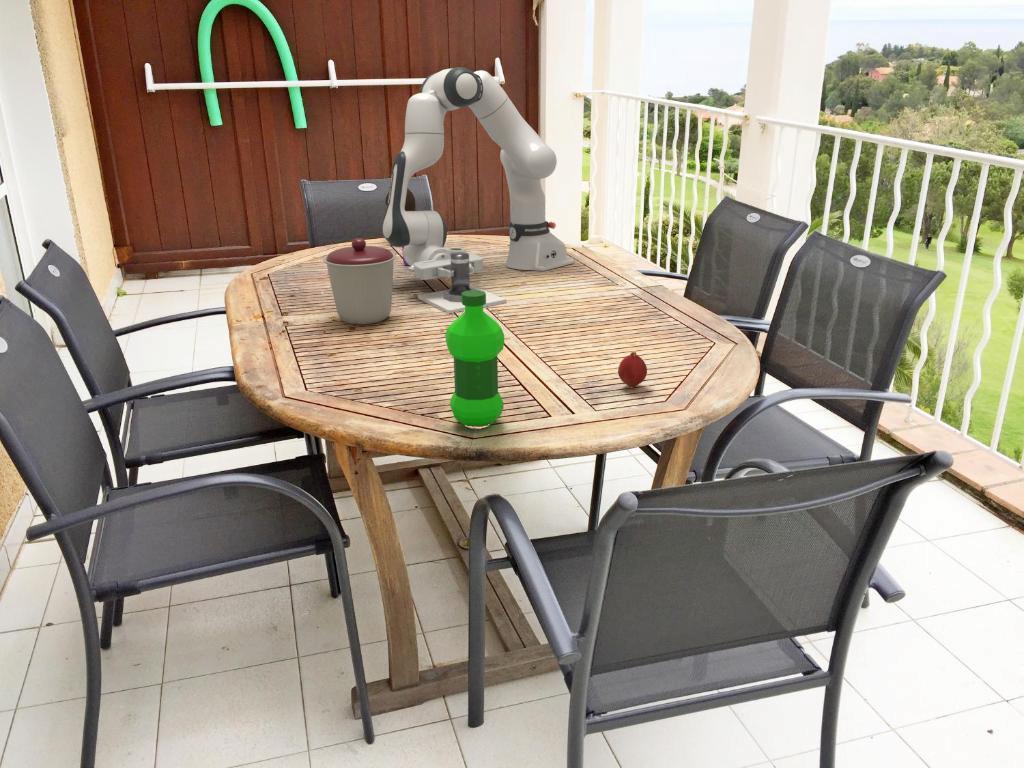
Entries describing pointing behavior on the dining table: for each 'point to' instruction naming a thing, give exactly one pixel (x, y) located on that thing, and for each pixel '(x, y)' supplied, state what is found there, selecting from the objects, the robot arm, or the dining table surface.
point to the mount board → (457, 305)
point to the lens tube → (460, 272)
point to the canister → (361, 282)
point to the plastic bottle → (475, 362)
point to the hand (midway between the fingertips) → (461, 272)
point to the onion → (632, 370)
